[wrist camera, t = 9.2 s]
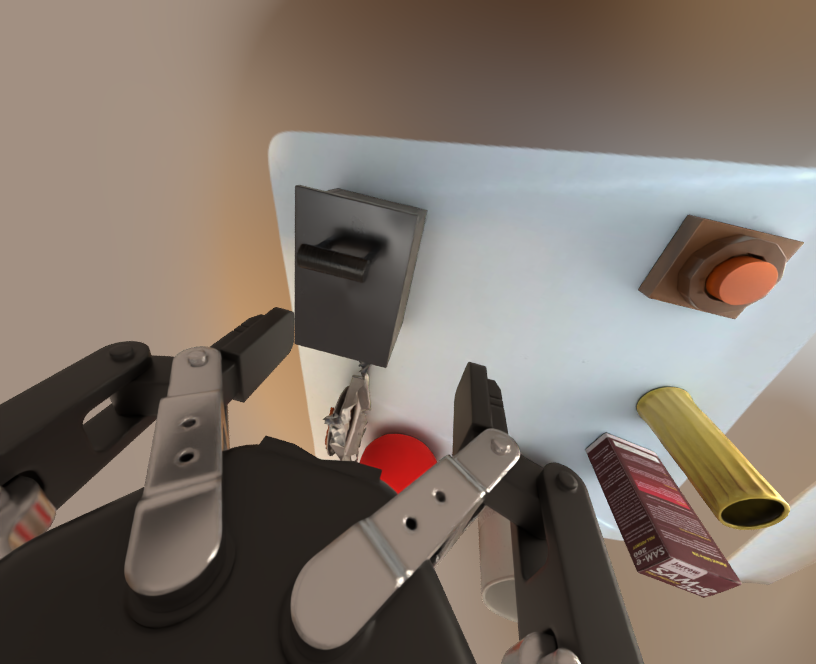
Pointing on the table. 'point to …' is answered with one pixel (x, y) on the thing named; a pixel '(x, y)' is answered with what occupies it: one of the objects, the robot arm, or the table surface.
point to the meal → (349, 418)
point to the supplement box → (658, 519)
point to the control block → (710, 262)
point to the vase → (711, 461)
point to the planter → (497, 564)
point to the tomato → (398, 459)
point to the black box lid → (349, 273)
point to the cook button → (741, 280)
